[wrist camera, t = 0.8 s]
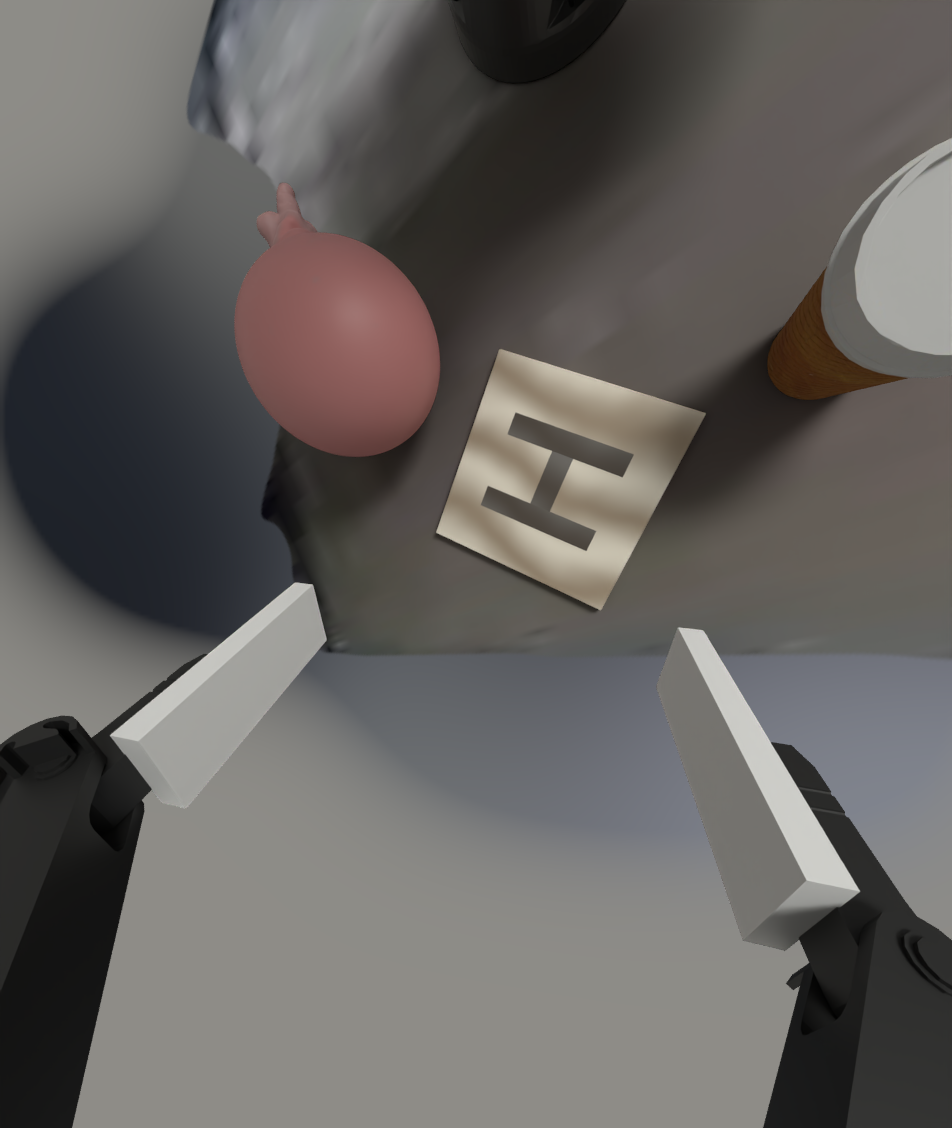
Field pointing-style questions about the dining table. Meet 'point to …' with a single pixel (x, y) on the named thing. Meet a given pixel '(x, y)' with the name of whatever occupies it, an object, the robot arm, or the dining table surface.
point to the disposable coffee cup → (878, 292)
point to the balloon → (334, 338)
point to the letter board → (563, 474)
